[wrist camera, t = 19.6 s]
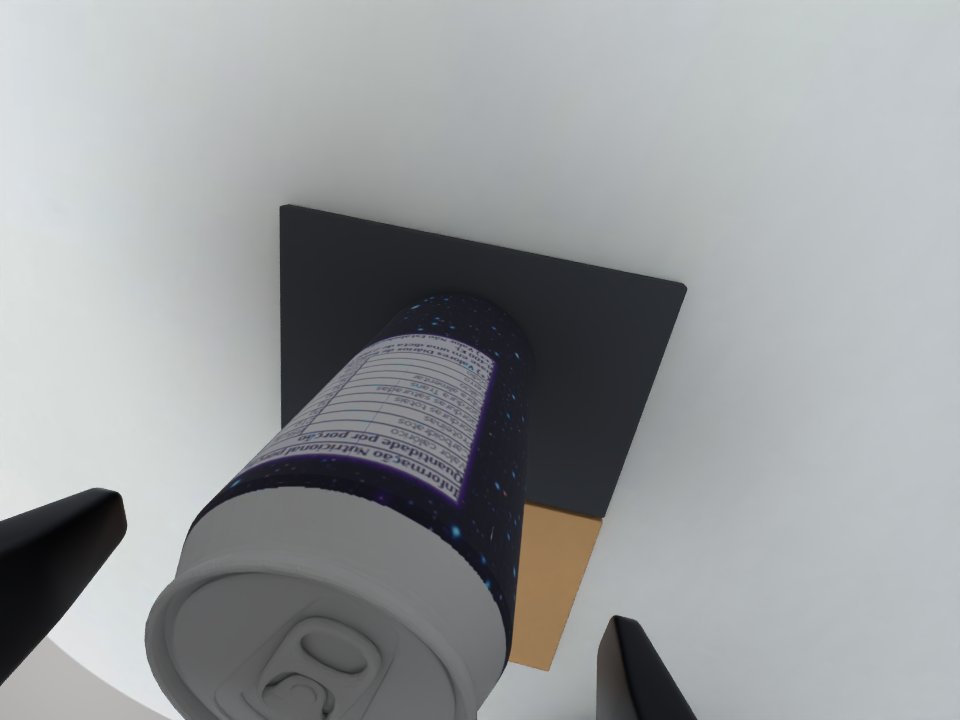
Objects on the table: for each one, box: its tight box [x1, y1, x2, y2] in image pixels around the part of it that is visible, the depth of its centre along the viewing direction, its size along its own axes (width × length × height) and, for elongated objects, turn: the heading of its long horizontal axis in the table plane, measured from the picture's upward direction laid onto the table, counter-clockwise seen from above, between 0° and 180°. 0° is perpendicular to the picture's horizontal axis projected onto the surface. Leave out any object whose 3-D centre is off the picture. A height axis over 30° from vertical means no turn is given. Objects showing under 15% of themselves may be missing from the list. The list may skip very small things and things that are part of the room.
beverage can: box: [145, 293, 536, 720], centre depth 12 cm, size 6×6×12 cm
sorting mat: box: [280, 204, 687, 671], centre depth 20 cm, size 20×14×1 cm
